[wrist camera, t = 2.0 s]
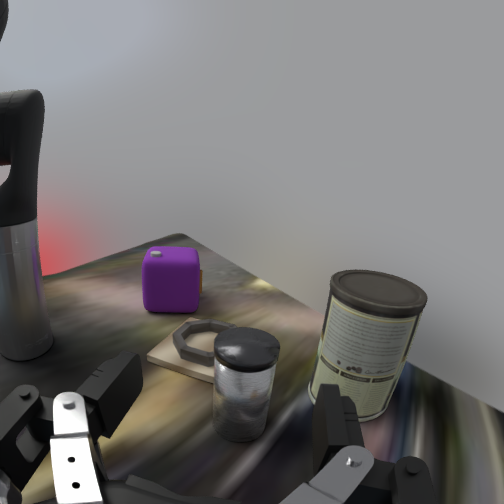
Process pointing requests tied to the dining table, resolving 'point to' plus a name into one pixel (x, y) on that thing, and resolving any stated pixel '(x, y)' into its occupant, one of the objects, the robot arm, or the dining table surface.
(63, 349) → the dining table surface
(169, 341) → the beige board with ring
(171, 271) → the toy camera
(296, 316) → the dining table surface
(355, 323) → the coffee can
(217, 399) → the black lidded glass jar
